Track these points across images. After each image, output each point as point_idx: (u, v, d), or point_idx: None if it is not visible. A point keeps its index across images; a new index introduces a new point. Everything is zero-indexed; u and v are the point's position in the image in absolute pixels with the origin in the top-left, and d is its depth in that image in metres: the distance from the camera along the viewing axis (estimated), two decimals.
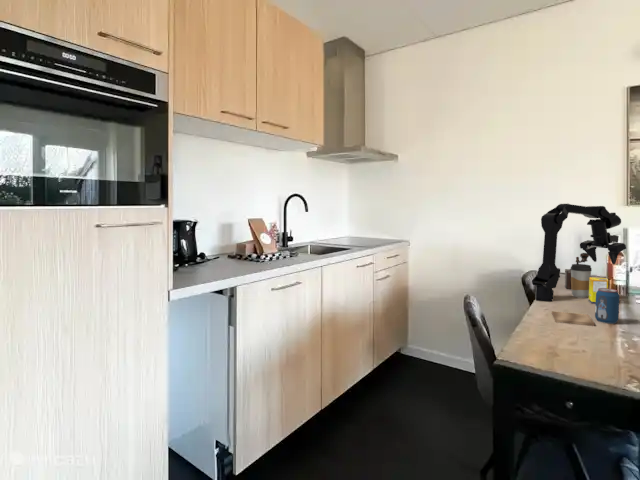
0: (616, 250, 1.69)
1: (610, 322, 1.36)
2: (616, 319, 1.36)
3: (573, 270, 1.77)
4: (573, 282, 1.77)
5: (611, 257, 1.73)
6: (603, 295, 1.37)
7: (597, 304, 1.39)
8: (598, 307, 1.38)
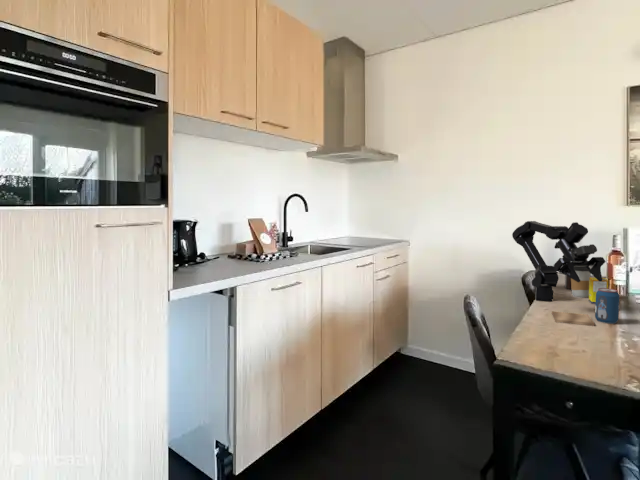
0: (554, 269, 1.52)
1: (610, 322, 1.36)
2: (616, 319, 1.36)
3: None
4: (573, 282, 1.77)
5: None
6: (603, 295, 1.37)
7: (597, 304, 1.39)
8: (598, 307, 1.38)
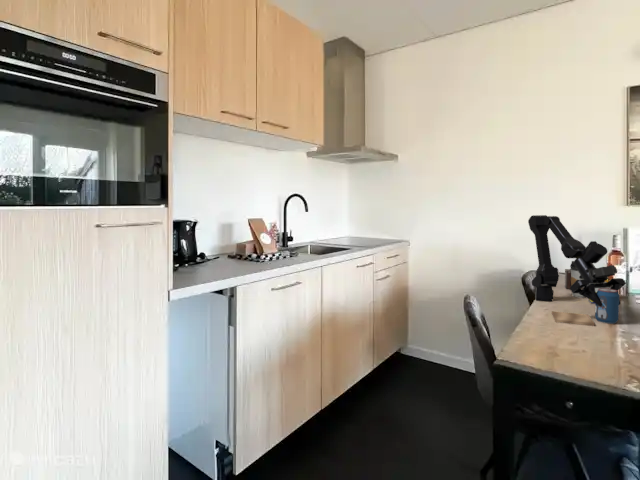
0: None
1: (610, 322, 1.36)
2: (616, 319, 1.36)
3: (573, 270, 1.77)
4: (573, 282, 1.77)
5: None
6: (603, 294, 1.37)
7: (597, 304, 1.39)
8: (598, 307, 1.38)
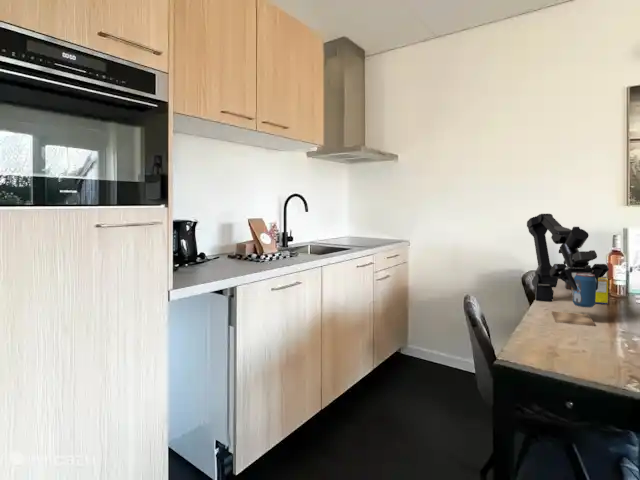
0: None
1: (585, 306, 1.38)
2: (591, 303, 1.37)
3: None
4: None
5: None
6: (578, 278, 1.39)
7: None
8: (574, 291, 1.40)
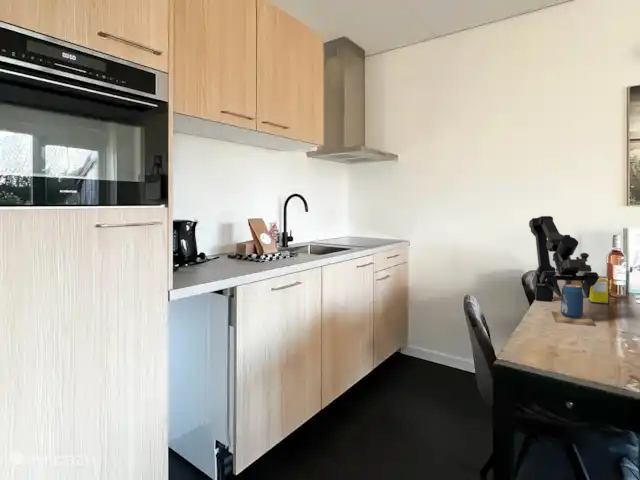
0: None
1: (572, 317, 1.40)
2: (578, 314, 1.39)
3: None
4: (573, 282, 1.77)
5: None
6: (565, 290, 1.41)
7: (561, 299, 1.43)
8: (562, 302, 1.43)
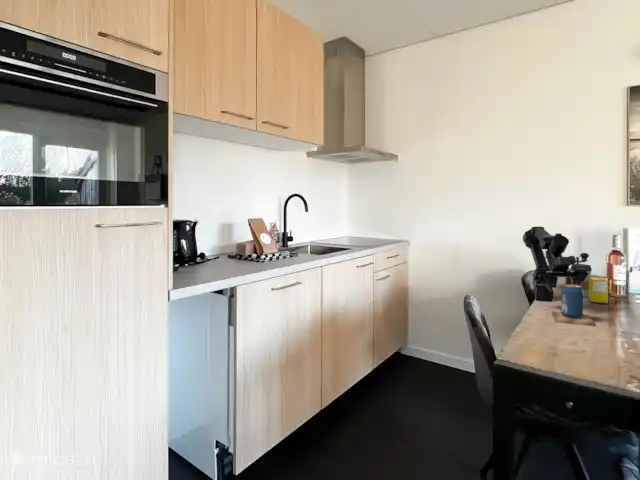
0: None
1: (572, 317, 1.40)
2: (577, 314, 1.39)
3: (573, 270, 1.77)
4: None
5: None
6: (565, 290, 1.41)
7: (561, 299, 1.43)
8: (562, 302, 1.43)
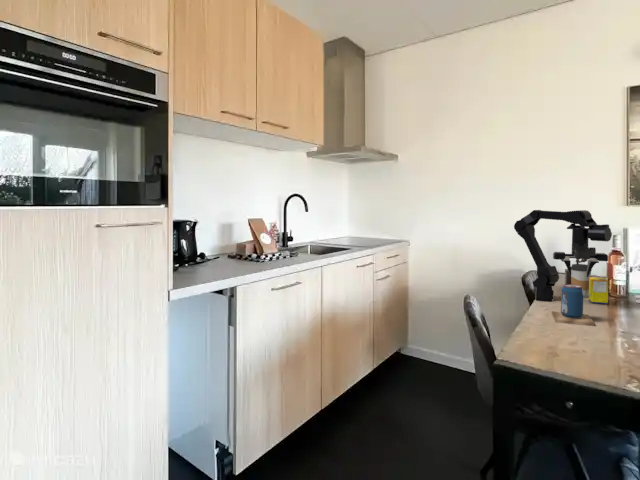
0: None
1: (572, 317, 1.40)
2: (578, 314, 1.39)
3: (573, 270, 1.77)
4: (573, 282, 1.77)
5: None
6: (565, 290, 1.41)
7: (561, 299, 1.43)
8: (562, 302, 1.43)
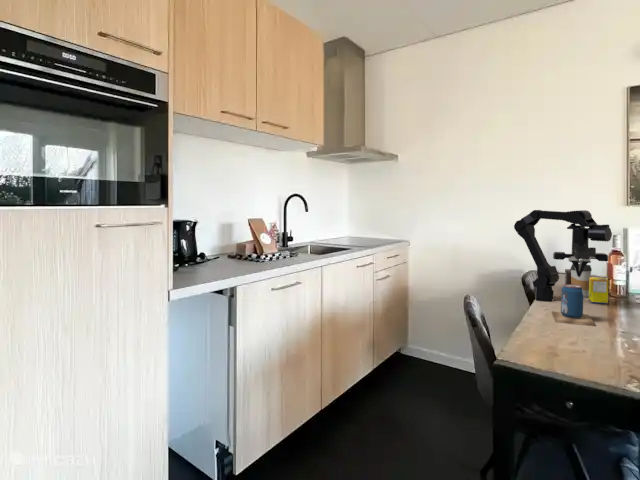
0: None
1: (572, 317, 1.40)
2: (578, 314, 1.39)
3: (573, 270, 1.77)
4: (573, 282, 1.77)
5: None
6: (565, 290, 1.41)
7: (561, 299, 1.43)
8: (562, 302, 1.43)
